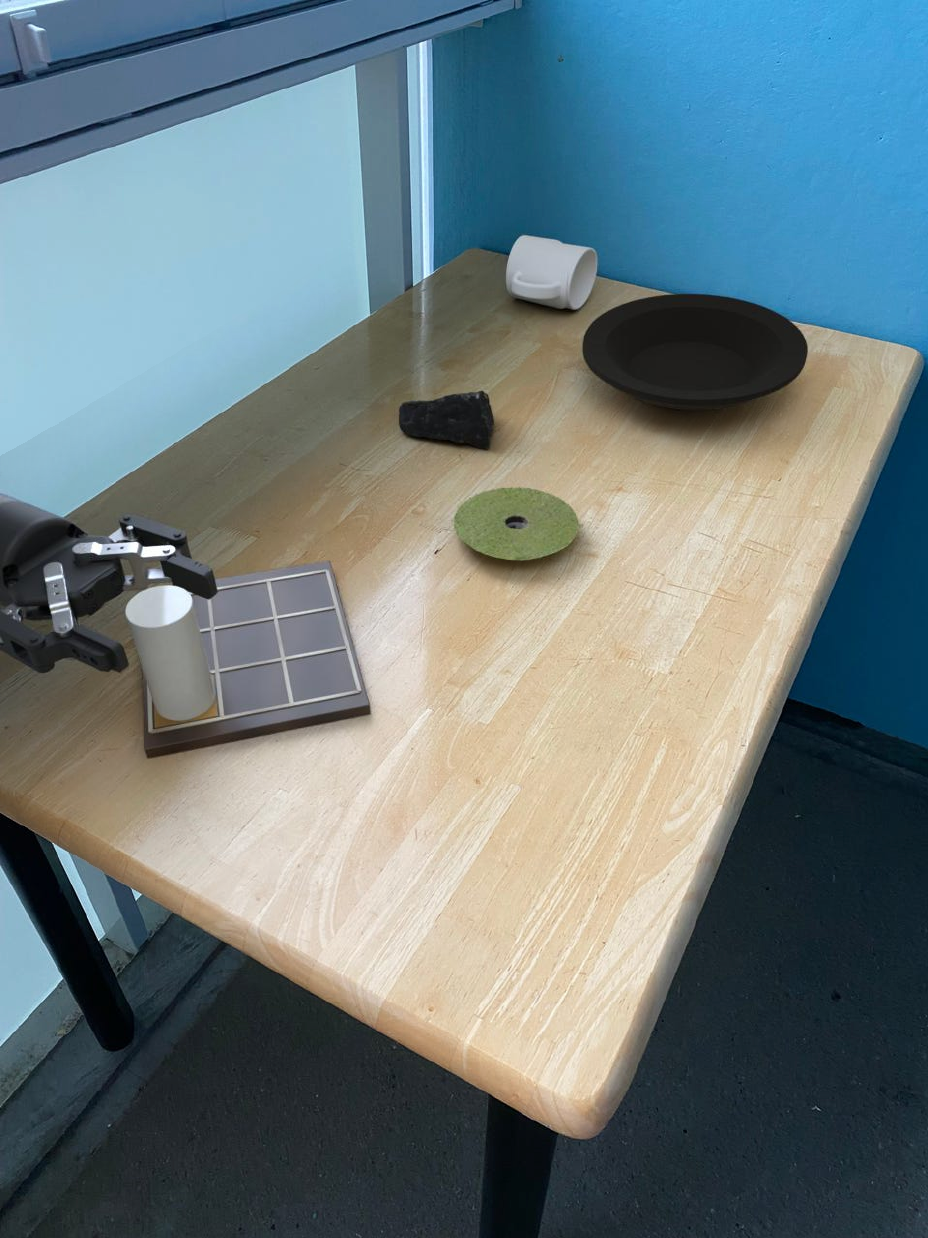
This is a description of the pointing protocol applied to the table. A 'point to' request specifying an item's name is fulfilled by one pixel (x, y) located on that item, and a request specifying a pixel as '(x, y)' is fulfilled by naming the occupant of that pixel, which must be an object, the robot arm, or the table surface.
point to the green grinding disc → (516, 523)
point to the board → (268, 661)
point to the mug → (551, 272)
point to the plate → (694, 350)
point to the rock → (450, 418)
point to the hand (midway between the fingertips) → (169, 621)
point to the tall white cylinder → (171, 651)
